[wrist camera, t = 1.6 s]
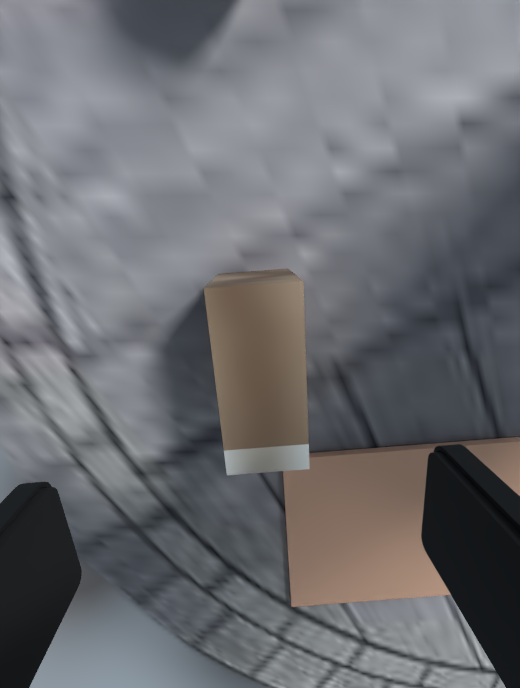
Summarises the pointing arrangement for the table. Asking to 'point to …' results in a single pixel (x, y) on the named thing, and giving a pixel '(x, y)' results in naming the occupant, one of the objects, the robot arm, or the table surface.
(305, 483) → the mat
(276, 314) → the card box
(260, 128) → the table surface
